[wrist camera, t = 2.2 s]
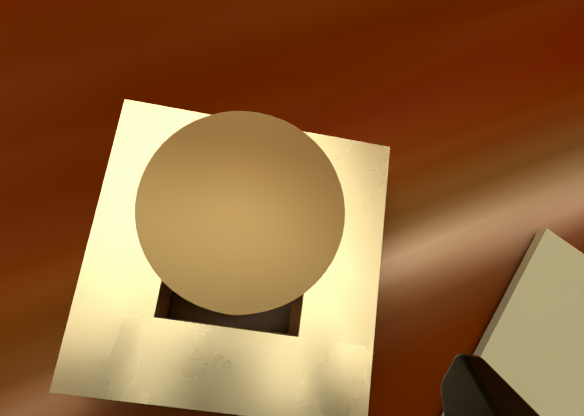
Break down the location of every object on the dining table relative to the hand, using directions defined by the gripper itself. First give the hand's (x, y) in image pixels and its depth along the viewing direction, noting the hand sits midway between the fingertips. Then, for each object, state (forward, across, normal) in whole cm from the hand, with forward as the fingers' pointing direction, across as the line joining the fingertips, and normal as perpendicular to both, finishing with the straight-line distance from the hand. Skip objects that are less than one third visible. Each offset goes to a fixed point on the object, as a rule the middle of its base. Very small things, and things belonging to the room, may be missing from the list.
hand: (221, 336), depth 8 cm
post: (+8, 0, +5) cm, 10 cm away
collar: (+8, 0, +5) cm, 10 cm away
